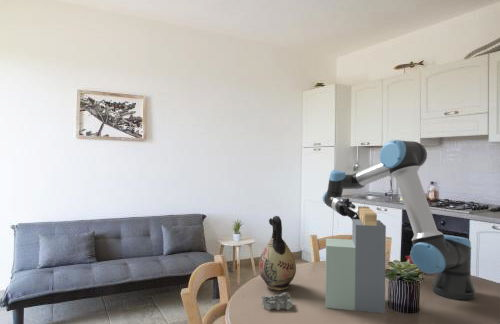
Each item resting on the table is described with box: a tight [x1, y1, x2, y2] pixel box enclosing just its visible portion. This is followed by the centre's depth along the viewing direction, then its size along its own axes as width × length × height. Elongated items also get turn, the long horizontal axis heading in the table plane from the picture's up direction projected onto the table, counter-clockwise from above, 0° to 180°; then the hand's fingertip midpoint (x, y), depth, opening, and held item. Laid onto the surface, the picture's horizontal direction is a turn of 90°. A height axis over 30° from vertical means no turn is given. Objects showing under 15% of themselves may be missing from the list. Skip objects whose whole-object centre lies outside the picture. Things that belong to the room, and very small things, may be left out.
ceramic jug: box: [258, 215, 297, 291], centre depth 147 cm, size 17×15×30 cm
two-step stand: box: [324, 219, 387, 314], centre depth 132 cm, size 14×20×30 cm
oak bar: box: [357, 205, 378, 226], centre depth 136 cm, size 24×4×4 cm, turn 168°
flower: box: [405, 254, 413, 263], centre depth 173 cm, size 10×9×8 cm
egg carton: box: [261, 291, 293, 311], centre depth 128 cm, size 11×8×4 cm
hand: (366, 222), depth 154 cm, fingers open, 13 cm apart
